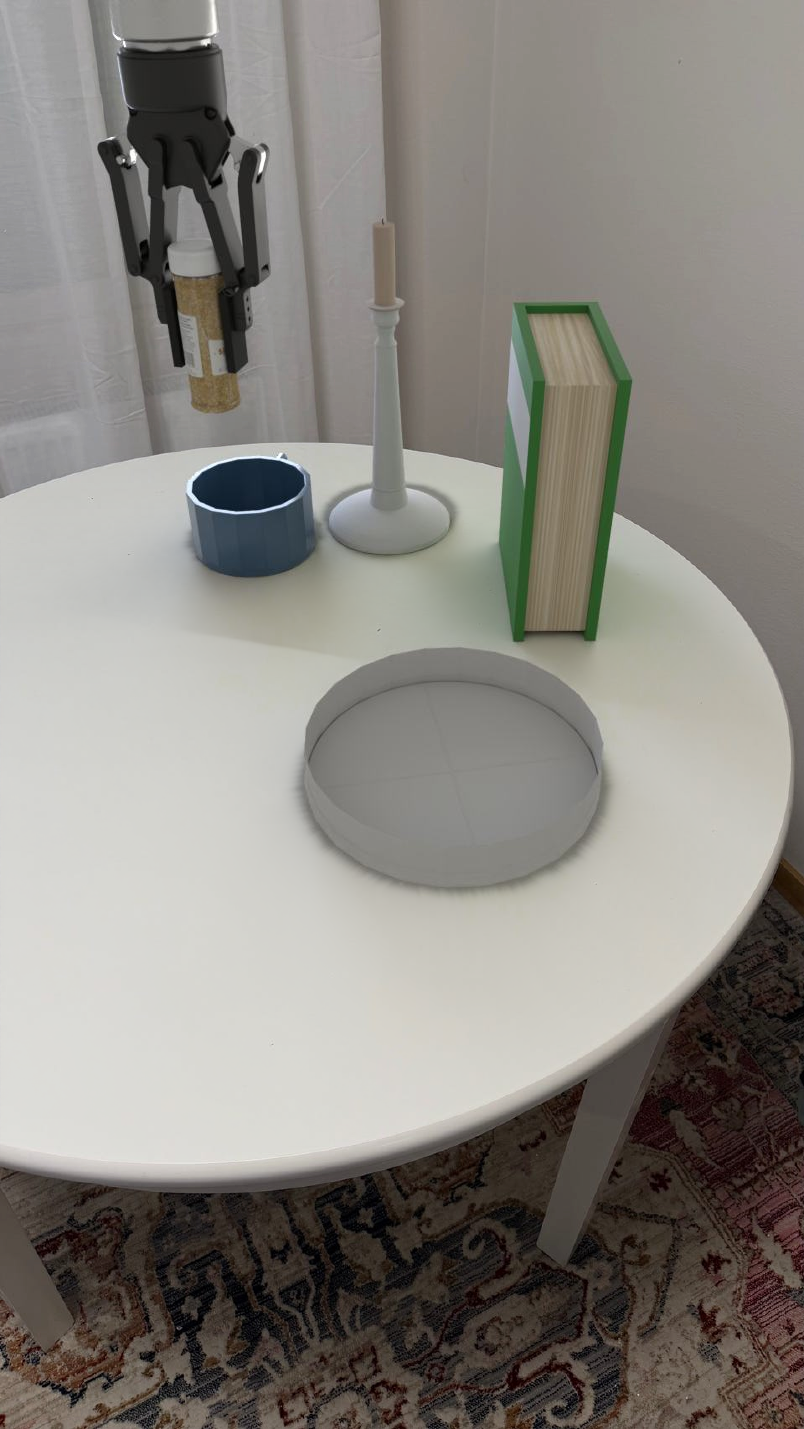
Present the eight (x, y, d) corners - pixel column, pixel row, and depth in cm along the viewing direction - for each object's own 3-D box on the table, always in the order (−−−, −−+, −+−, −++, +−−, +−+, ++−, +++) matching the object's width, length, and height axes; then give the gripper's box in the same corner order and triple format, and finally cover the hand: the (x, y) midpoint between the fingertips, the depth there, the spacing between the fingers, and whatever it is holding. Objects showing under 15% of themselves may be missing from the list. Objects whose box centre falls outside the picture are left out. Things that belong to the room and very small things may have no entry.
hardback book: (595, 640, 91) (632, 380, 75) (513, 641, 91) (533, 381, 75) (570, 540, 104) (597, 301, 89) (498, 541, 104) (513, 302, 89)
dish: (551, 679, 86) (556, 632, 83) (641, 874, 70) (652, 824, 66) (292, 710, 83) (287, 662, 80) (322, 920, 67) (317, 870, 64)
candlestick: (412, 566, 100) (410, 247, 81) (305, 535, 105) (280, 227, 86) (470, 511, 109) (481, 210, 89) (369, 484, 114) (359, 194, 94)
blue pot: (290, 585, 98) (284, 521, 94) (176, 567, 101) (164, 504, 96) (340, 510, 109) (337, 450, 105) (236, 496, 112) (229, 437, 107)
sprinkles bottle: (244, 413, 88) (225, 250, 79) (191, 417, 87) (166, 254, 79) (240, 392, 91) (221, 234, 83) (189, 396, 91) (165, 237, 82)
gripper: (300, 39, 73) (320, 358, 88) (87, 33, 77) (141, 340, 92) (260, 53, 67) (289, 391, 82) (33, 46, 71) (100, 370, 86)
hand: (211, 364), depth 87 cm, fingers closed on sprinkles bottle, 4 cm apart
